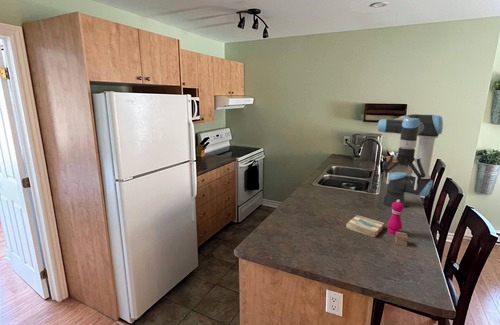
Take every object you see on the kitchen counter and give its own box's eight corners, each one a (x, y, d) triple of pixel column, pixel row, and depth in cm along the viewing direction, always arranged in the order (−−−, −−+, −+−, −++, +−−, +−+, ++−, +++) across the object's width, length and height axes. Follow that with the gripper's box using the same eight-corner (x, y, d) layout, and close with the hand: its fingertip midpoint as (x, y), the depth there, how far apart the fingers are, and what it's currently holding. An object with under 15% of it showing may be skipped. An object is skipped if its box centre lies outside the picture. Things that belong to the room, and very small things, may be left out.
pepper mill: (393, 236, 149) (398, 202, 144) (383, 230, 156) (388, 197, 151) (403, 234, 151) (409, 201, 146) (394, 228, 158) (399, 196, 153)
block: (394, 239, 146) (396, 231, 144) (405, 241, 144) (406, 233, 143) (395, 244, 141) (397, 235, 140) (406, 246, 139) (407, 237, 138)
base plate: (356, 219, 169) (357, 214, 169) (383, 227, 159) (384, 223, 158) (346, 227, 158) (346, 223, 157) (374, 237, 147) (375, 232, 147)
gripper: (379, 145, 146) (374, 182, 151) (433, 152, 130) (426, 193, 135) (384, 144, 152) (379, 180, 157) (436, 150, 135) (429, 190, 140)
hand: (401, 186), depth 146 cm, fingers open, 13 cm apart
